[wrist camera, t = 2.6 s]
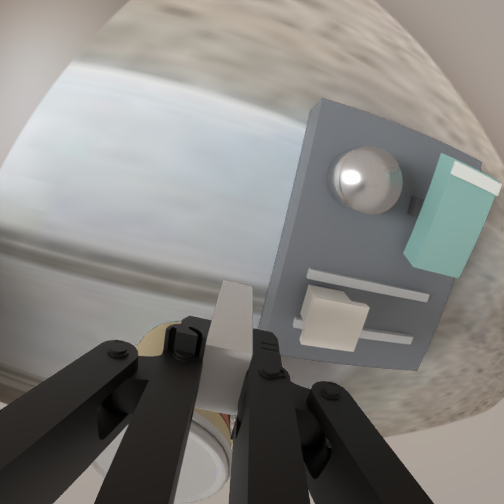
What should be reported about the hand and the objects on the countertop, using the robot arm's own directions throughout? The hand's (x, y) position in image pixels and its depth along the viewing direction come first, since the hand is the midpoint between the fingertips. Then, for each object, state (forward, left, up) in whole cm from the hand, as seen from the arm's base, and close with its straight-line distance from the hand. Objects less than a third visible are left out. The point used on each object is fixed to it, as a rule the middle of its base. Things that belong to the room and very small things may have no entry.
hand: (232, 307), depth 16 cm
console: (+9, +4, -8) cm, 13 cm away
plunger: (+6, +8, -4) cm, 10 cm away
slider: (+6, 0, -4) cm, 7 cm away
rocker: (+12, +7, -2) cm, 14 cm away
